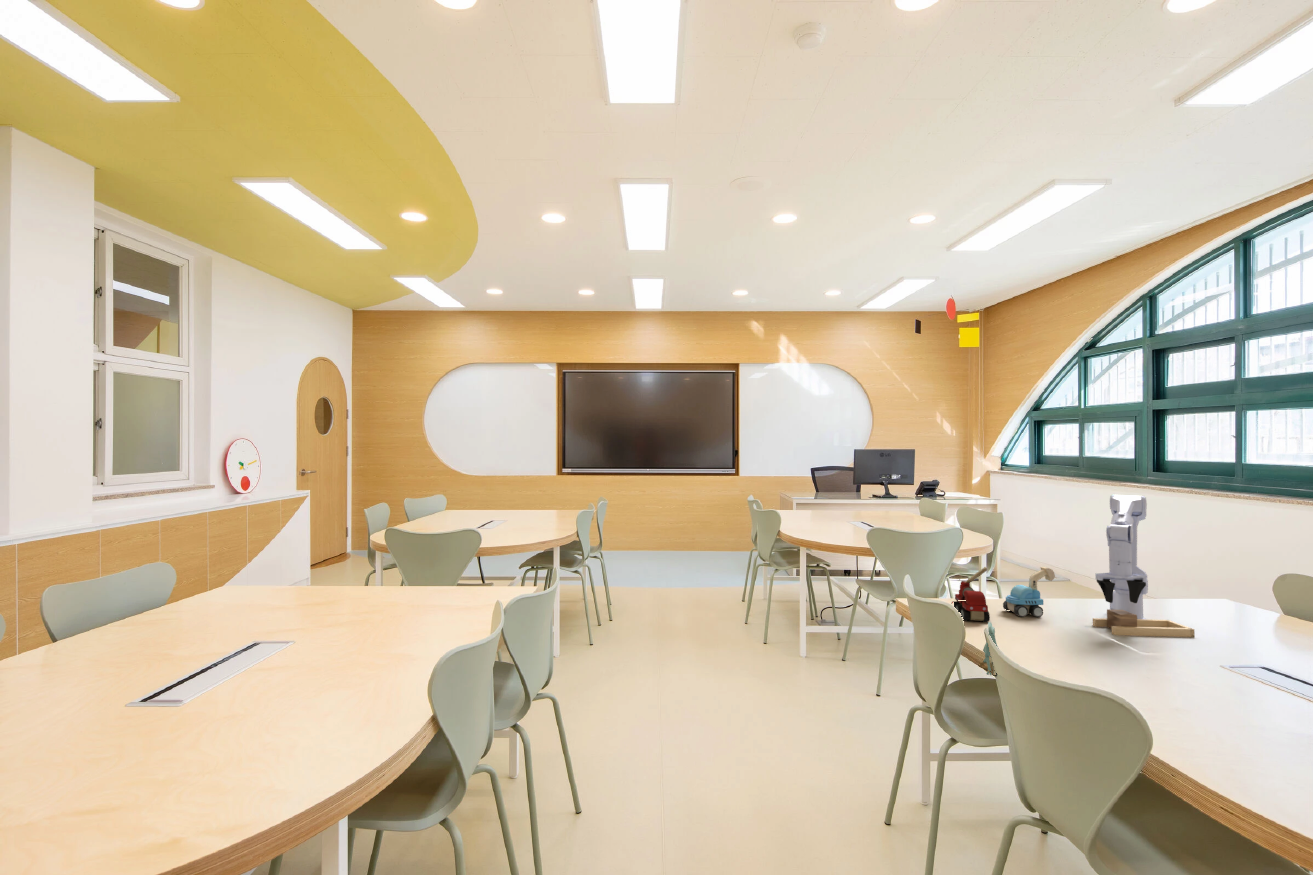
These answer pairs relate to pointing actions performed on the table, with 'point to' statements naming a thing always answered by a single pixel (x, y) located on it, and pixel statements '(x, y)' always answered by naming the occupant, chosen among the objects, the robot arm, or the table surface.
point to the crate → (1121, 618)
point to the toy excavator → (1028, 595)
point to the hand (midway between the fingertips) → (1121, 602)
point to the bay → (1149, 628)
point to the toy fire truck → (972, 601)
